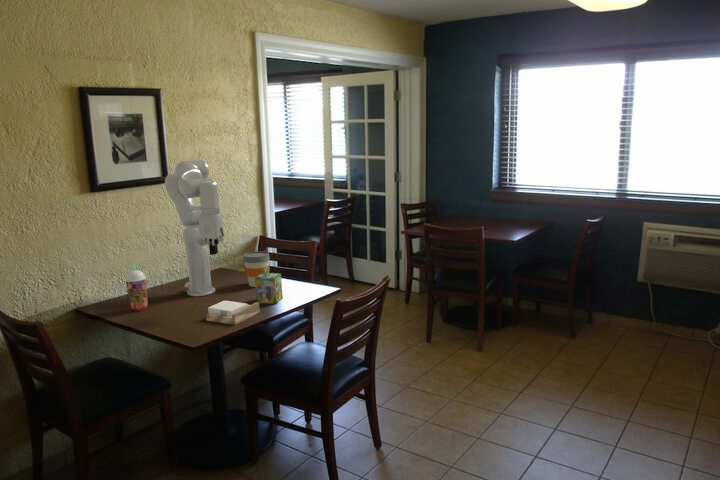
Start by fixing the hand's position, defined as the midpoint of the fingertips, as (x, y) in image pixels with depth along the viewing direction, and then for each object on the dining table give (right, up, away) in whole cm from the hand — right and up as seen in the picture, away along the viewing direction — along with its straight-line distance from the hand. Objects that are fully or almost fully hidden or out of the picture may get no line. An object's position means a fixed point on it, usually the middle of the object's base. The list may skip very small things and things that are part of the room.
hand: (213, 253), depth 241 cm
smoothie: (-33, -24, +5) cm, 41 cm away
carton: (+8, -26, -8) cm, 28 cm away
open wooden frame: (+10, -25, -8) cm, 28 cm away
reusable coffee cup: (+12, -16, +36) cm, 41 cm away
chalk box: (+22, -21, +10) cm, 32 cm away
